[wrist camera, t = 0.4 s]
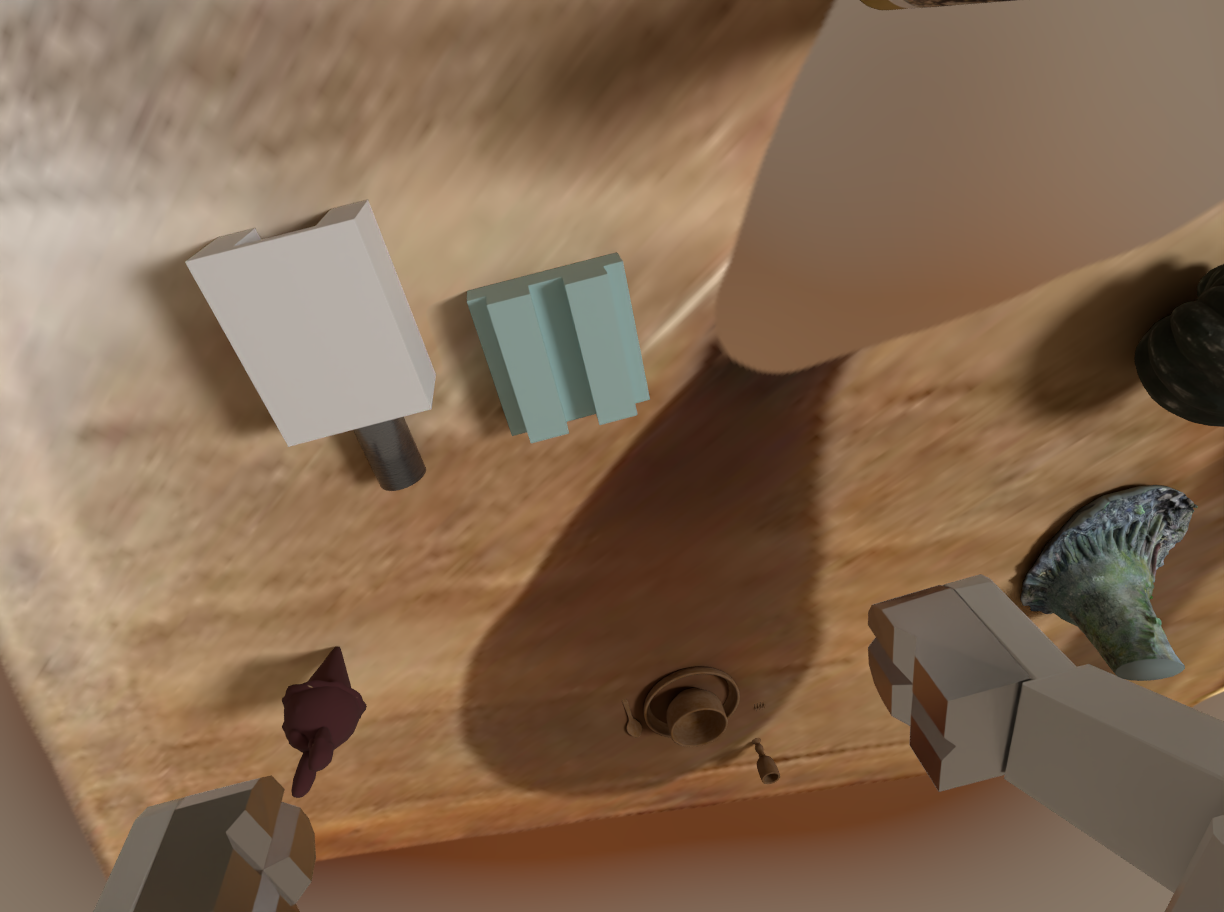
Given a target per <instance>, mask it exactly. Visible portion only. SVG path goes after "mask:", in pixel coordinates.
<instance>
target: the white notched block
mask: <svg viewBox="0 0 1224 912" xmlns="http://www.w3.org/2000/svg"><path fill="white" fill-rule="evenodd" d="M185 263H186V265H187V266H188V268H189V270H190V272H191V273H192V275H193V277H194V279H195V281H196V282H197V284H198V286H199V288H200V290H201V291H202V293H203V295H204V297H205V298H206V300H207V302H208V304H209V306H210V307H211V309H212V311H213V313H214V315H215V316H216V318H217V320H218V322H219V324H220V325H221V327H222V329H223V331H224V332H225V334H226V336H227V338H228V340H229V341H230V343H231V345H232V347H233V349H234V350H235V352H236V354H237V356H238V357H239V359H240V361H241V363H242V365H243V366H244V368H245V370H246V372H247V374H248V375H249V377H250V379H251V381H252V382H253V384H254V386H255V388H256V390H257V391H258V393H259V395H260V397H261V399H262V400H263V402H264V404H265V406H266V407H267V409H268V411H269V413H270V415H271V416H272V418H273V420H274V422H275V424H276V425H277V427H278V429H279V431H280V432H281V434H282V436H283V438H284V440H285V441H286V443H287V445H288V447H289V446H293V445H297V444H301V443H304V442H308V441H312V440H316V439H320V438H323V437H327V436H331V435H335V434H339V433H342V432H346V431H350V430H354V429H358V428H362V427H365V426H369V425H373V424H377V423H381V422H384V421H388V420H392V419H396V418H400V417H403V416H407V415H411V414H415V413H419V412H422V411H426V410H430V409H431V408H432V400H433V392H434V385H435V377H436V374H435V371H434V369H433V366H432V363H431V361H430V358H429V356H428V353H427V351H426V348H425V345H424V343H423V340H422V338H421V335H420V332H419V330H418V327H417V325H416V322H415V320H414V317H413V314H412V312H411V309H410V307H409V304H408V302H407V299H406V296H405V294H404V291H403V289H402V286H401V284H400V281H399V278H398V276H397V273H396V271H395V268H394V265H393V263H392V260H391V258H390V255H389V253H388V250H387V247H386V245H385V242H384V240H383V237H382V235H381V232H380V229H379V227H378V224H377V222H376V219H375V216H374V214H373V211H372V209H371V206H370V204H369V201H368V200H365V201H361V202H357V203H353V204H349V205H345V206H341V207H337V208H333V209H330V210H329V211H328V213H327V214H326V215H325V216H324V217H323V218H322V219H321V220H320V222H319V223H318V224H317V225H316V226H313V227H310V228H306V229H302V230H298V231H294V232H290V233H286V234H282V235H278V236H274V237H270V238H266V239H262V240H261V239H260V237H259V235H258V233H257V231H256V228H253V229H249V230H245V231H242V232H238V233H234V234H230V235H226V236H222V237H218V238H216V239H215V240H213V241H212V242H211V243H209V244H208V245H207V246H205V247H204V248H203V249H201V250H200V251H199V252H197V253H196V254H195V255H193V256H192V257H191V258H189V259H188V260H187V261H185Z"/></svg>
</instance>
